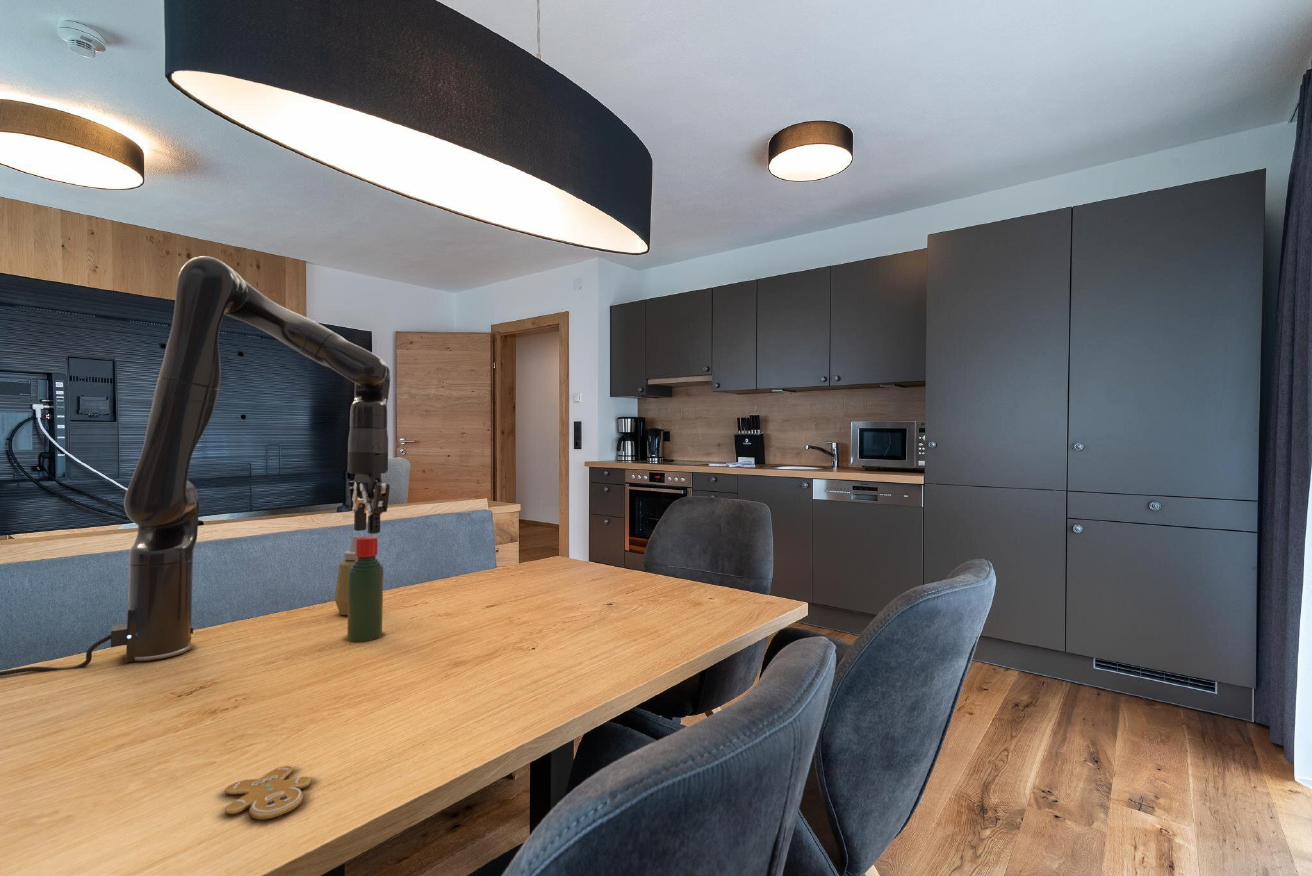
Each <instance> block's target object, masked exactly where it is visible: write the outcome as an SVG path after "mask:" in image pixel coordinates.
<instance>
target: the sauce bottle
mask: <svg viewBox="0 0 1312 876" xmlns="http://www.w3.org/2000/svg"><path fill="white" fill-rule="evenodd" d="M383 602H384V567H383V564H382V563H381V561H379V558H376V556H373V557H358V558H357V560H355V563H353V565H352V566H351V567H350V569H349V587H348V615H347V635H346V636H347V638H346V639H347V641H350V642H354V643H355V642H357V643H358V642H359V643H361V642H362V643H363V642H368V641H373V640H376V639H379V638H380V637H382V636H383V605H384V604H383Z"/></svg>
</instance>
